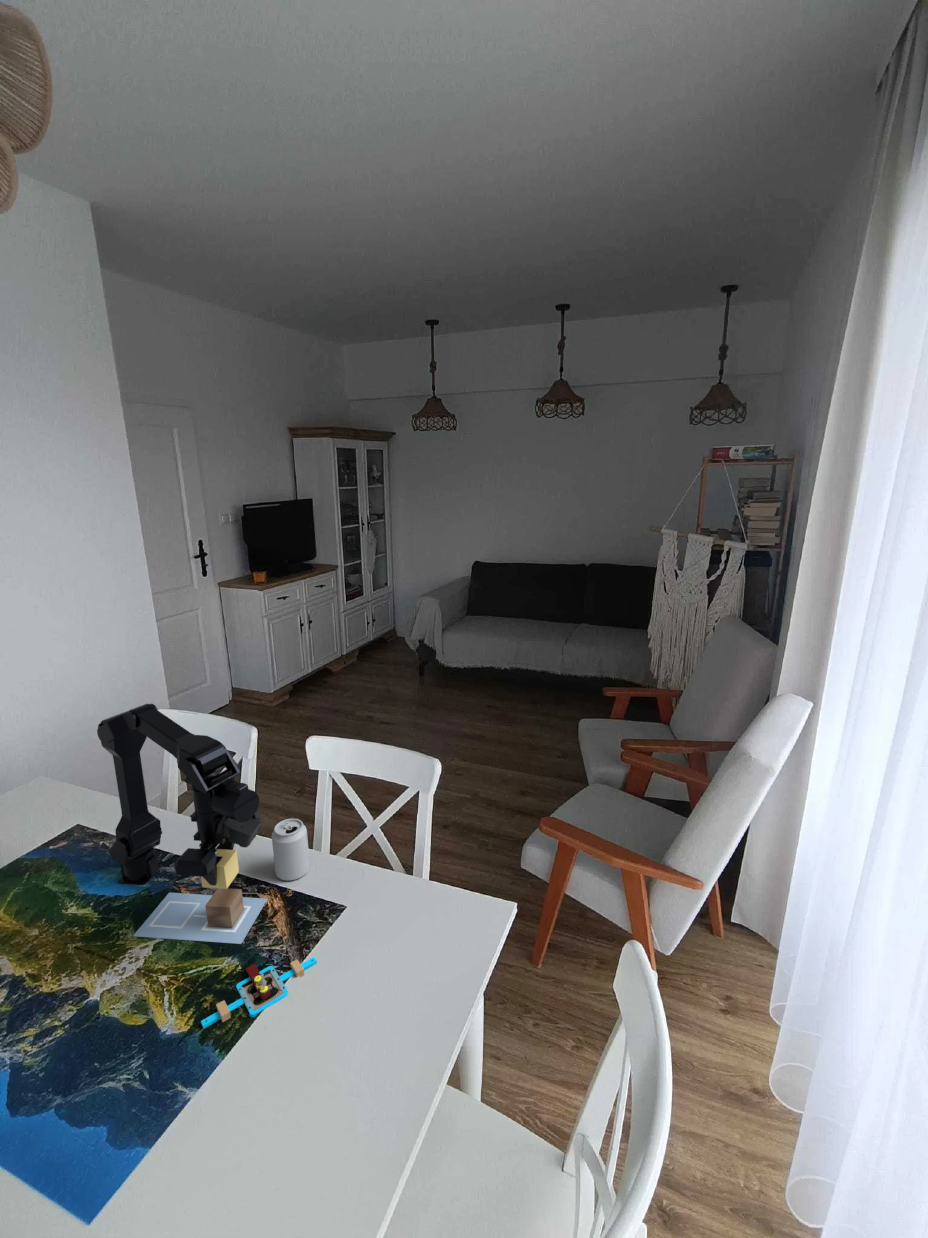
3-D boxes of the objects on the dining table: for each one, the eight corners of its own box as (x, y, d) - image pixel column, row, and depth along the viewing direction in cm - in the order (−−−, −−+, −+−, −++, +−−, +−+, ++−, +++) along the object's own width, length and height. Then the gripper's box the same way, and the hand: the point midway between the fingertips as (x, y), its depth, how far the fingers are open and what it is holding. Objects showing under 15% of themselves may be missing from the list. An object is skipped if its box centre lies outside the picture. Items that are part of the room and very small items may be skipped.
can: (289, 888, 126) (284, 840, 123) (268, 874, 130) (263, 828, 127) (317, 870, 131) (313, 823, 128) (296, 857, 136) (292, 812, 133)
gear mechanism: (193, 1006, 99) (210, 1046, 92) (189, 980, 98) (205, 1019, 91) (303, 945, 111) (325, 977, 104) (300, 922, 110) (323, 952, 103)
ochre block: (202, 887, 112) (199, 865, 111) (215, 870, 117) (212, 848, 116) (226, 889, 112) (224, 866, 111) (239, 871, 117) (236, 850, 116)
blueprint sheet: (133, 937, 113) (132, 935, 113) (169, 894, 124) (169, 892, 124) (241, 945, 111) (241, 943, 111) (267, 900, 122) (267, 898, 122)
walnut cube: (208, 927, 115) (205, 905, 114) (220, 908, 120) (218, 888, 118) (232, 928, 114) (229, 907, 113) (244, 910, 119) (241, 889, 118)
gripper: (227, 838, 101) (237, 913, 105) (272, 782, 119) (278, 848, 123) (167, 834, 102) (178, 909, 106) (220, 779, 120) (228, 845, 124)
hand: (220, 875), depth 114 cm, fingers closed on ochre block, 5 cm apart
